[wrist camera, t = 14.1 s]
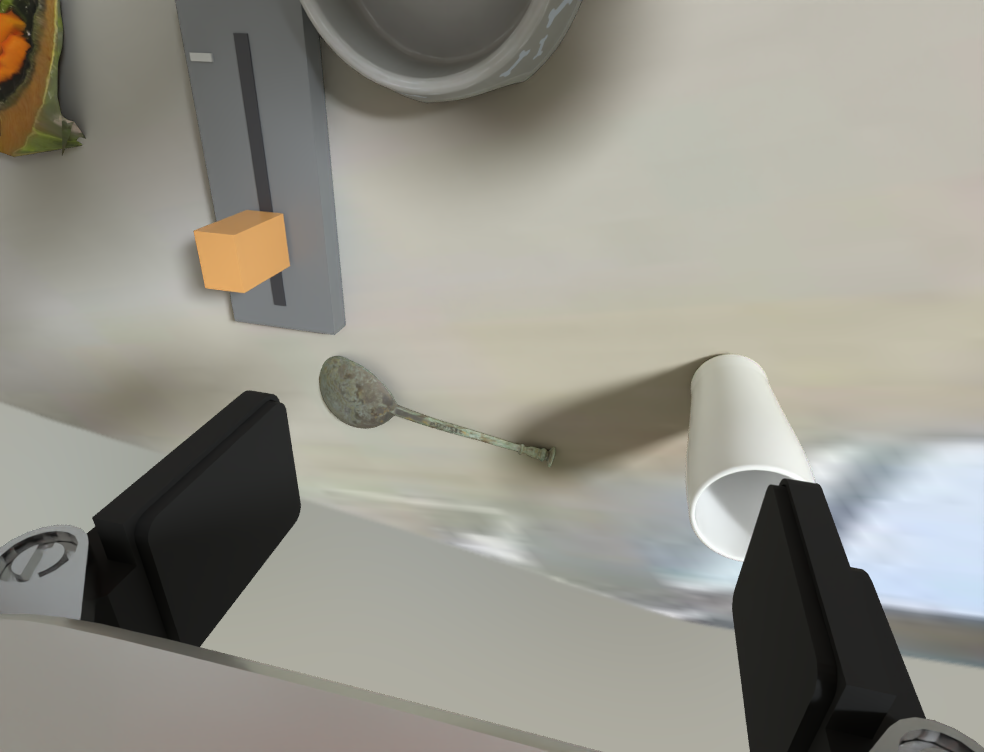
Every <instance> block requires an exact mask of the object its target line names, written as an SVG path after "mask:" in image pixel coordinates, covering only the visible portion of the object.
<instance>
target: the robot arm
mask: <svg viewBox="0 0 984 752" xmlns="http://www.w3.org/2000/svg"><path fill="white" fill-rule="evenodd" d="M300 508H301V503H300V496H299V490H298V483H297V477H296V470H295V464H294V457H293V451H292V445H291V438H290V432H289V425H288V419H287V412H286V408H285V406H284V404H283V403H280V402H279V399H278V398H277V396H276V395H274V394H268V393H262V392H256V391H245V392H243V393H242V394H241V395H240V396H238V397H237V398H236V399H235V400H233V401H232V402H231V403H230V404H229V405H227V406H226V407H225V408H224V409H223V410H221V411H220V412H219V413H218V414H217V415H215V416H214V417H213V418H212V419H211V420H209V421H208V422H207V423H206V424H205V425H203V426H202V427H201V428H200V429H199V430H197V431H196V432H195V433H194V434H192V435H191V436H190V437H189V438H188V439H186V440H185V441H184V442H183V443H182V444H180V445H179V446H178V447H177V448H176V449H174V450H173V451H172V452H171V453H170V454H168V455H167V456H166V457H165V458H164V459H162V460H161V461H160V462H159V463H158V464H156V465H155V466H154V467H153V468H152V469H150V470H149V471H148V472H147V473H146V474H145V475H143V476H142V477H141V478H140V479H138V480H137V481H136V482H135V483H133V484H132V485H131V486H130V487H129V488H127V489H126V490H125V491H124V492H123V493H121V494H120V495H119V496H118V497H117V498H115V499H114V500H113V501H112V502H110V503H109V504H108V505H107V506H106V507H105V508H103V509H102V510H101V511H100V512H98V513H97V514H96V515H95V516H94V517H93V518H92V519H93V521H94V524H95V527H94V528H93V529H92V530H91V531H89V532H88V533H87V534H86V533H85V532H84V531H83V530H82V529H81V528H78V527H75V526H71V525H54V526H47V527H42V528H39V529H36V530H33V531H30V532H27V533H25V534H23V535H21V536H18V537H17V538H14V539H12V540H11V541H9V542H8V543H6V544H5V545H3V546H2V547H0V752H601V751H597V750H594V749H590V748H586V747H582V746H579V745H574V744H571V743H567V742H563V741H560V740H556V739H552V738H548V737H545V736H540V735H537V734H533V733H529V732H525V731H522V730H518V729H514V728H511V727H507V726H503V725H499V724H496V723H491V722H488V721H484V720H480V719H477V718H473V717H469V716H465V715H461V714H458V713H454V712H450V711H446V710H442V709H439V708H435V707H431V706H427V705H423V704H419V703H416V702H412V701H407V700H404V699H400V698H396V697H392V696H388V695H385V694H381V693H377V692H373V691H369V690H365V689H361V688H358V687H354V686H350V685H346V684H342V683H338V682H334V681H331V680H327V679H323V678H319V677H315V676H311V675H307V674H303V673H299V672H296V671H291V670H288V669H284V668H280V667H276V666H272V665H268V664H264V663H260V662H256V661H252V660H248V659H244V658H240V657H236V656H232V655H228V654H225V653H220V652H217V651H213V650H208V649H205V648H201V647H200V646H201V645H202V643H203V642H204V641H205V639H206V638H207V637H208V636H209V634H210V633H211V632H212V631H213V629H214V628H215V627H216V625H217V624H218V623H219V621H220V620H221V619H222V617H223V616H224V615H225V614H226V612H227V611H228V610H229V608H230V607H231V606H232V604H233V603H234V602H235V600H236V599H237V598H238V597H239V595H240V594H241V592H242V591H243V590H244V589H245V588H246V586H247V585H248V584H249V582H250V581H251V580H252V578H253V577H254V576H255V575H256V573H257V572H258V570H259V569H260V568H261V567H262V565H263V564H264V563H265V561H266V560H267V559H268V558H269V556H270V555H271V554H272V552H273V551H274V549H275V548H276V547H277V546H278V545H279V543H280V542H281V541H282V539H283V538H284V537H285V535H286V534H287V533H288V531H289V530H290V529H291V528H292V526H293V525H294V524H295V522H296V521H297V519H298V517H299V513H300ZM732 612H733V621H734V629H735V636H736V645H737V652H738V660H739V668H740V676H741V684H742V692H743V699H744V708H745V716H746V724H747V732H748V740H749V747H750V752H984V748H983V747H982V746H981V745H979V744H978V743H977V742H976V741H974V740H973V739H971V738H970V737H968V736H966V735H965V734H963V733H961V732H960V731H958V730H956V729H955V728H952V727H950V726H947V725H945V724H942V723H940V722H937V721H935V720H930V719H926V717H925V715H924V712H923V710H922V707H921V705H920V702H919V700H918V697H917V695H916V692H915V689H914V687H913V684H912V682H911V679H910V677H909V674H908V672H907V669H906V667H905V664H904V661H903V659H902V656H901V654H900V651H899V649H898V646H897V644H896V641H895V639H894V636H893V633H892V631H891V628H890V626H889V623H888V621H887V618H886V616H885V613H884V611H883V608H882V605H881V603H880V600H879V598H878V595H877V593H876V590H875V588H874V585H873V583H872V580H871V579H870V577H869V575H868V573H867V572H865V571H864V570H863V569H858V568H852V567H850V565H849V562H848V559H847V557H846V554H845V551H844V548H843V545H842V543H841V540H840V537H839V534H838V532H837V529H836V526H835V523H834V521H833V518H832V515H831V512H830V510H829V507H828V504H827V501H826V499H825V496H824V493H823V490H822V488H821V486H820V485H819V484H817V483H811V482H805V481H799V480H793V479H787V478H784V479H782V480H781V482H780V483H779V486H778V485H772V484H770V485H769V486H768V487H767V490H766V493H765V496H764V499H763V502H762V505H761V508H760V512H759V515H758V518H757V521H756V524H755V527H754V530H753V534H752V537H751V540H750V543H749V546H748V549H747V553H746V556H745V559H744V562H743V565H742V568H741V571H740V575H739V578H738V581H737V584H736V587H735V590H734V595H733V603H732Z"/></svg>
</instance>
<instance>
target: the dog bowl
mask: <svg viewBox="0 0 984 752" xmlns="http://www.w3.org/2000/svg"><path fill="white" fill-rule="evenodd" d="M300 2H301V4H302V6H303V8H304V10H305V12H306V14H307V16H308V17H309V19H310V21H311V22H312V24H313V25H314V27H315V28H316V30H317V31H318V33H319V34H320V35H321V37H322V38H323V39H324V41H325V42H326V43H327V44H328V45H329V46H330V47H331V49H332V50H333V51H334V52H335V53H336V54H337V55H338V56H339V57H340V58H341V59H342V60H343V61H344V62H346V63H347V64H348V65H349V66H350V67H352V68H353V69H354V70H356V71H357V72H358V73H360V74H361V75H363V76H364V77H366V78H368V79H370V80H371V81H373V82H375V83H377V84H379V85H381V86H384V87H386V88H389V89H391V90H393V91H395V92H397V93H399V94H401V95H404V96H406V97H408V98H411V99H414V100H417V101H421V102H425V103H429V102H442V101H453V100H460V99H464V98H468V97H473V96H476V95H479V94H482V93H486V92H489V91H491V90H494V89H497V88H500V87H504V86H507V85H509V84H514V83H518V82H524V81H526V80H527V79H528V78H529V77H531V76H532V75H533V74H534V73H535V72H536V71H537V70H538V69H539V68H540V67H541V66H542V65H543V64H544V63H545V62H546V61H547V60H548V58H549V57H550V56H551V55H552V54H553V52H554V51H555V50H556V48H557V47H558V45H559V44H560V43H561V41H562V39H563V38H564V36H565V35H566V33H567V31H568V30H569V28H570V26H571V24H572V22H573V20H574V18H575V16H576V13H577V11H578V9H579V7H580V4H581V2H582V0H300Z"/></svg>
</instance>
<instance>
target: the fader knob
mask: <svg viewBox="0 0 984 752" xmlns="http://www.w3.org/2000/svg"><path fill="white" fill-rule="evenodd" d="M194 235H195V240H196V245H197V250H198V255H199V259H200V264H201V269H202V274H203V279H204V284H205V288H208V289H216V290H224V291H231V292H239V293H245V292H247V291H249V290H250V289H252V288H254V287H256V286H257V285H259V284H261V283H262V282H264V281H266V280H267V279H269V278H271V277H272V276H274V275H276V274H277V273H279V272H281V271H282V270H284V269H286V268H288V267H289V266H290V262H289V254H288V246H287V239H286V231H285V224H284V216H283V213H273V212H263V211H253V210H245V211H242V212H240V213H237V214H235V215H232V216H230V217H227V218H225V219H222V220H220V221H217V222H215V223H212V224H209V225H207V226H204V227H202V228H199V229H197V230H194Z"/></svg>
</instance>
